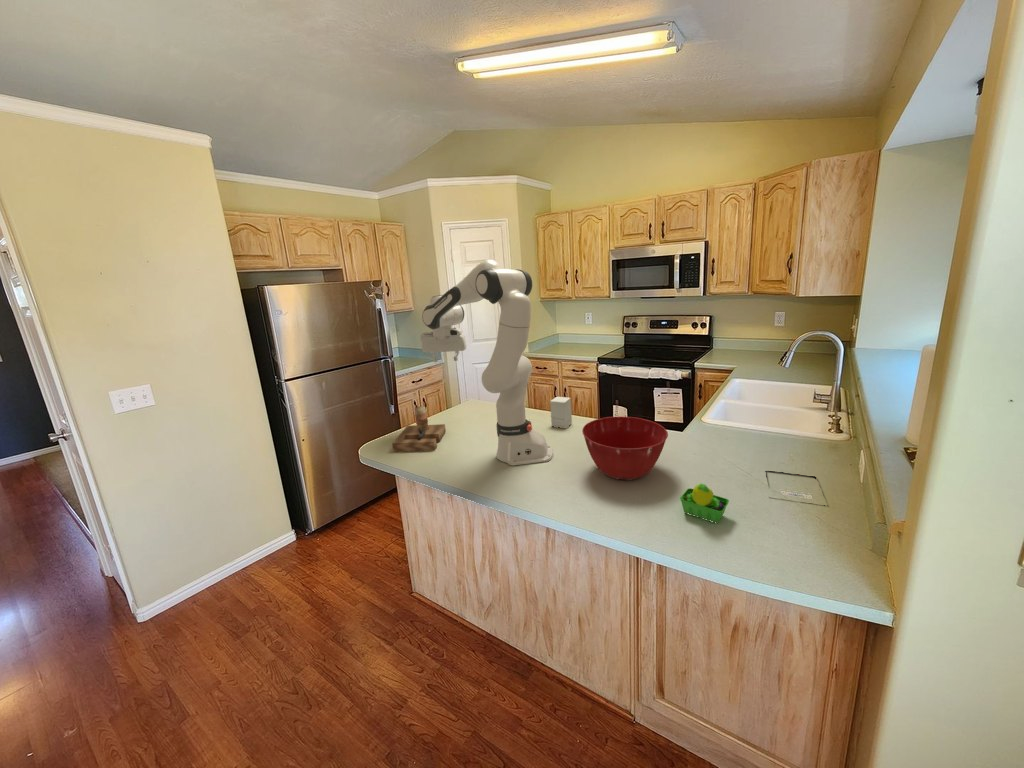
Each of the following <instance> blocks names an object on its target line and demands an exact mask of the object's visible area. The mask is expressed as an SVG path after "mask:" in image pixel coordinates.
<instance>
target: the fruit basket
mask: <svg viewBox="0 0 1024 768" xmlns="http://www.w3.org/2000/svg"><path fill="white" fill-rule="evenodd" d="M679 500H680V502H681V505H682V508H683V513H684V512H685V513H689V514H692V515H695V516H698V517H701V518H704V519H707V520H711V521H713V522H716V523H717V522H718V521H719V522H720V520H721V519H720V518H722V517H723V516H724V513H725V511H726V508H727V506H728V504H729V502H730V500H729V499H728V498H725V497H722V496H718V495H715V494H714V492H713V490H712V489H711V488H710V487H708V486H707V485H706V484H705V483H699V484H696V485H695V486H694V488H691V487H690V488H687V489H686V490H685V492H684V493H683V494H682V495H681V496H680V497H679ZM685 513H684V514H685ZM692 515H691V516H692ZM722 515H723V516H722ZM701 518H700V519H701ZM719 522H718V523H719ZM718 523H717V524H718Z"/></svg>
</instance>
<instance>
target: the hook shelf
mask: <svg viewBox="0 0 1024 768" xmlns="http://www.w3.org/2000/svg"><path fill="white" fill-rule="evenodd" d="M445 432H446V424H445V423H442V424H441V423H439V424H428V429H427V430H425V431H424V430H422V428H419V431H418V429H417V424H416V425H406V426H405V428H404V429H403V430H402V431H401V432H400V434H398V435H397V437H396V438H395V439H394V441H393V442H392V443H391V444H392V445H391V446H392V451H393V452H394V453H399V452H398V451H408V452H425V451H424V450H435V449H436V450H437V448H438V445H437V443H440V442H442V439H443V438H444V436H445V435H446V433H445ZM442 437H443V438H442ZM421 450H422V451H421ZM436 450H435V451H436Z"/></svg>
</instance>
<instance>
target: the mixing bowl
mask: <svg viewBox="0 0 1024 768" xmlns="http://www.w3.org/2000/svg"><path fill="white" fill-rule="evenodd" d="M581 430H582V435H583V438H584V441H585V444H586V447H587V450H588V453H589V454H590V456H591V459H592V461H593V463H594V464H595V465H596V467H597V469H598V470H600V472H602V473H603V474H605V475H606V476H607V477H610V478H612V477H613V478H612V479H615V478H618V479H617V480H619V479H633V480H636V479H635V478H637V479H639V478H642V477H644V476H646V475H648V473H649V472H650V471H652V470H653V468H654V466H655V465H656V464H657V462H658V460H659V459H660V457H661V456H660V455H661V454H662V452H663V449H664V446H665V444H666V441H667V439H668V437H669V433H668V431H667V429H666V428H665V427H664V426H662V425H661V424H659V423H657V422H655V421H652V420H649V419H644V418H641V417H636V416H635V417H633V416H606V417H601V418H597V419H594V420H591V421H589V422H587V423H586V424H585V425H584V426H583V427H582V429H581Z"/></svg>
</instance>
